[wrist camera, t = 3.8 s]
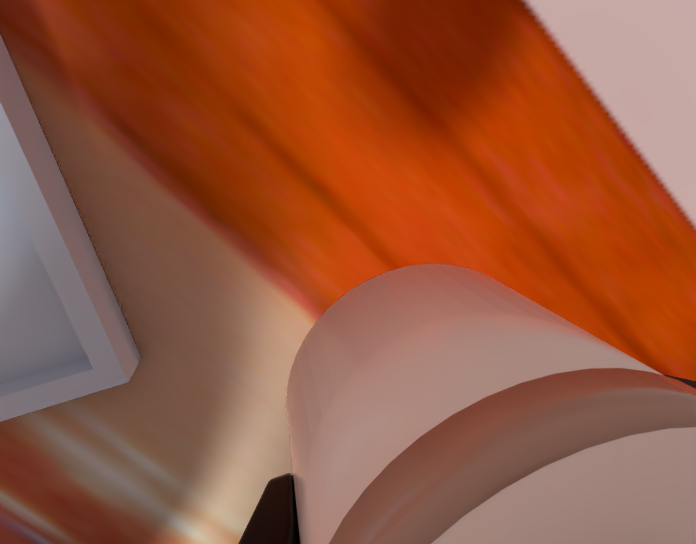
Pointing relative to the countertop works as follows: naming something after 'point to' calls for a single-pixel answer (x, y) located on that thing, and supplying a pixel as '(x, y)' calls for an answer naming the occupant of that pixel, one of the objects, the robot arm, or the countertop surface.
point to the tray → (49, 276)
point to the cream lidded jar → (481, 423)
